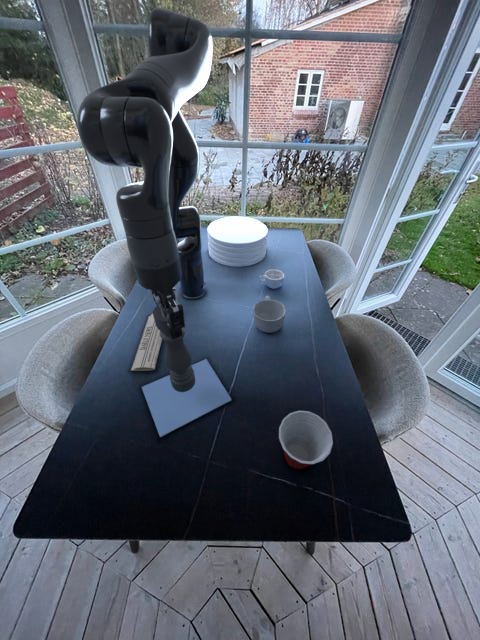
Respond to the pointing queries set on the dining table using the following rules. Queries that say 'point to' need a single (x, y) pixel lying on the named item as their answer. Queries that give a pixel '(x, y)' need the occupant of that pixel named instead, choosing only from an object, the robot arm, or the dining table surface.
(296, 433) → the plastic cup
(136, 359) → the newspaper
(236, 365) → the dining table surface
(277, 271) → the teacup
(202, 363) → the cloth
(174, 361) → the candle holder
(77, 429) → the dining table surface
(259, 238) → the plate stack
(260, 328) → the teacup
